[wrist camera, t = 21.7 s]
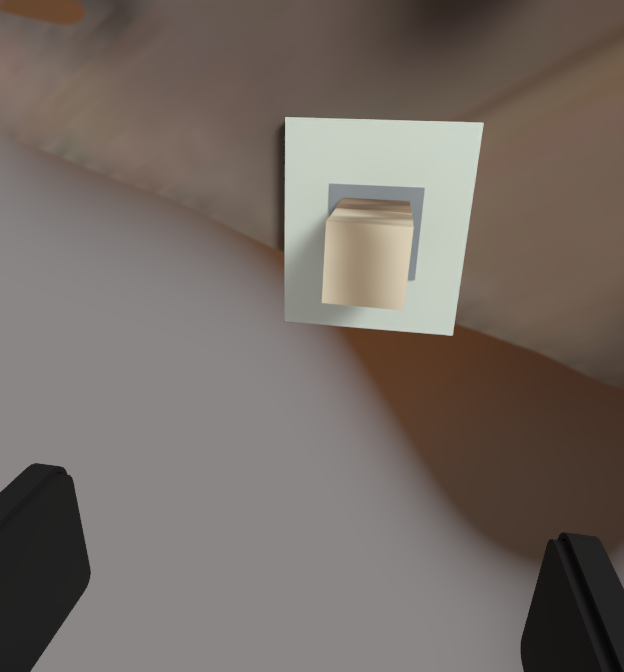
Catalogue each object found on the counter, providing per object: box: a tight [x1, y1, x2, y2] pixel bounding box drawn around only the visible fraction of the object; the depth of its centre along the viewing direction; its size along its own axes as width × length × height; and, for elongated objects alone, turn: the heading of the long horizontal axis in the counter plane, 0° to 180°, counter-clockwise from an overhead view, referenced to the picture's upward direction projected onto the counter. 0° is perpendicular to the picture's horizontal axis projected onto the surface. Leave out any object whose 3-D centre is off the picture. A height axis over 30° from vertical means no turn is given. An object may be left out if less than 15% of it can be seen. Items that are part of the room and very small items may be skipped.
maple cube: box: [322, 208, 414, 311], centre depth 32 cm, size 5×5×5 cm
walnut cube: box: [335, 198, 411, 213], centre depth 37 cm, size 5×5×5 cm
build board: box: [284, 117, 484, 336], centre depth 40 cm, size 14×16×1 cm
